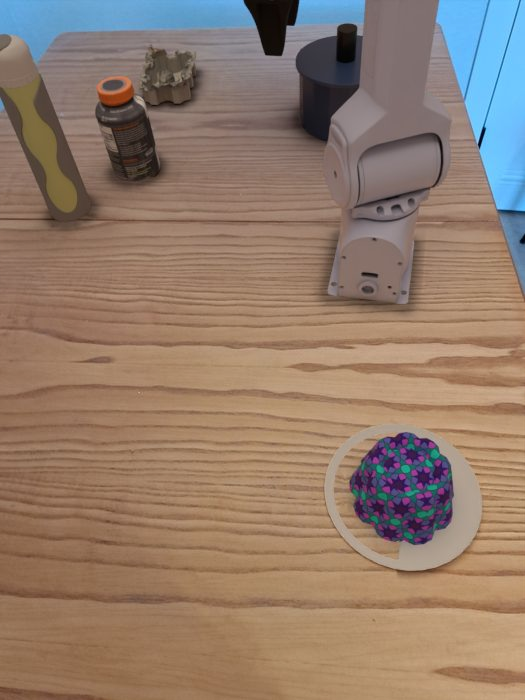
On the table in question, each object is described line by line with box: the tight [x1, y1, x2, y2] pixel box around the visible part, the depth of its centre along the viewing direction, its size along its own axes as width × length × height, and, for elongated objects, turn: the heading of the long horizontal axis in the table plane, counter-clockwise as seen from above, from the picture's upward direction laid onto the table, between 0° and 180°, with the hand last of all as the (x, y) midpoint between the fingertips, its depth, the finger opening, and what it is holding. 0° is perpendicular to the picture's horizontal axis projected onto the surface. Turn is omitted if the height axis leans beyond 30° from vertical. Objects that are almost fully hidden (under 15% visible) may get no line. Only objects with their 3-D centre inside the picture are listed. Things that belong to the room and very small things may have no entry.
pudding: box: [323, 422, 483, 572], centre depth 43 cm, size 12×12×5 cm
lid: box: [295, 22, 363, 88], centre depth 70 cm, size 12×12×5 cm
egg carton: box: [139, 43, 197, 106], centre depth 83 cm, size 11×8×4 cm
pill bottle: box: [94, 75, 161, 182], centre depth 68 cm, size 6×6×11 cm
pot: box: [298, 73, 359, 142], centre depth 74 cm, size 11×11×8 cm
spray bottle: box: [0, 33, 92, 223], centre depth 61 cm, size 5×5×20 cm
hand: (280, 39), depth 70 cm, fingers open, 7 cm apart
